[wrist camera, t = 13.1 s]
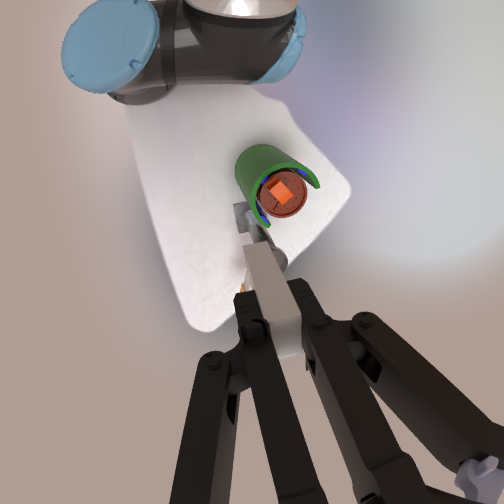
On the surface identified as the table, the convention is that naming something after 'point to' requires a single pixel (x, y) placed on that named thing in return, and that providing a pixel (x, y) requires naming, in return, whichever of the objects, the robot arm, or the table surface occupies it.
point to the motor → (273, 182)
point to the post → (257, 231)
